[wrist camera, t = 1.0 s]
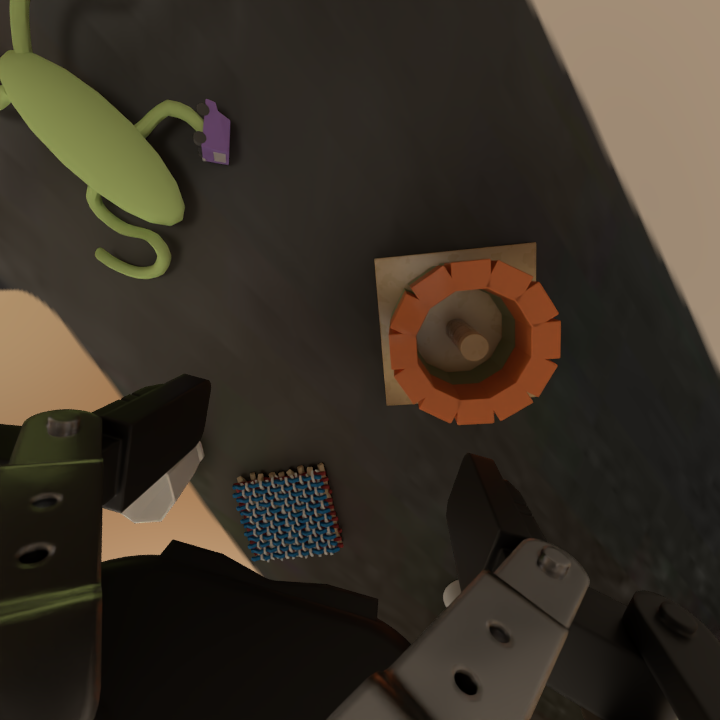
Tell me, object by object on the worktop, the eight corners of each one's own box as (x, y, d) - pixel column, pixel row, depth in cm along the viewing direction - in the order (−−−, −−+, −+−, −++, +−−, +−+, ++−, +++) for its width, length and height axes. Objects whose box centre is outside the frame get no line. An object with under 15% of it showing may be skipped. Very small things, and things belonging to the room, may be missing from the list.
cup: (228, 462, 43) (190, 506, 35) (159, 499, 45) (108, 548, 37) (192, 410, 42) (144, 443, 34) (123, 449, 44) (63, 489, 36)
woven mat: (347, 544, 44) (344, 557, 42) (258, 554, 45) (252, 567, 43) (327, 460, 41) (324, 470, 40) (235, 473, 43) (227, 483, 41)
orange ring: (384, 268, 31) (383, 269, 27) (541, 253, 30) (562, 251, 26) (396, 410, 34) (396, 428, 30) (540, 401, 32) (559, 420, 28)
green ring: (386, 268, 35) (384, 268, 31) (524, 255, 34) (541, 253, 30) (396, 395, 38) (396, 410, 34) (524, 387, 36) (540, 401, 32)
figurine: (89, -102, 32) (26, -179, 26) (282, 183, 35) (261, 167, 30) (-47, 54, 36) (-127, 16, 30) (140, 298, 39) (99, 302, 34)
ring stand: (375, 258, 36) (367, 255, 27) (530, 243, 35) (582, 233, 25) (386, 400, 39) (383, 444, 30) (530, 392, 38) (576, 434, 28)
